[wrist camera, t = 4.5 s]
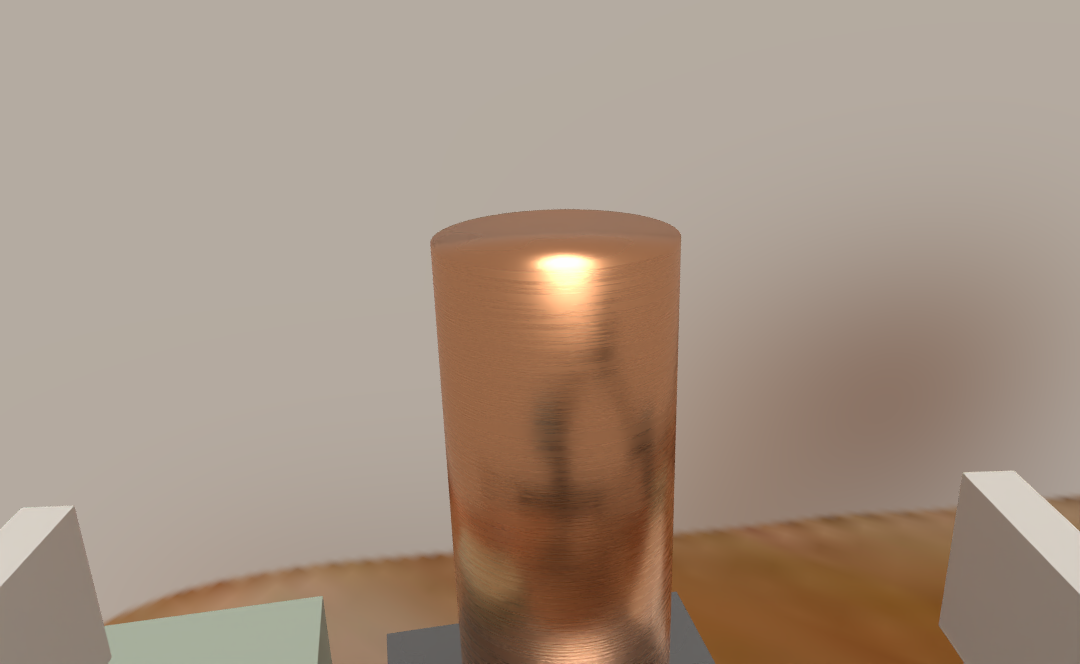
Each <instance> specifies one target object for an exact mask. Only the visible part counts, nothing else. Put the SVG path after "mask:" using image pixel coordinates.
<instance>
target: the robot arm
mask: <svg viewBox="0 0 1080 664" xmlns="http://www.w3.org/2000/svg"><path fill="white" fill-rule="evenodd" d="M939 626H940V628H941V629H942V631H943V632H944V634H945V635H946V637H947V638H948V639H949V641H950V642H951V644H952V645H953V647H954V648H955V650H956V651H957V653H958V654H959V656H960V657H961V658H962V660H963V661H964V663H965V664H1080V531H1079V530H1078V529H1076V528H1075V527H1074V526H1073V525H1072V524H1071V523H1070V522H1069V521H1068V520H1067V519H1066V518H1065V517H1064V516H1062V515H1061V514H1060V513H1059V512H1058V511H1057V510H1056V509H1055V508H1054V507H1053V506H1052V505H1051V504H1049V503H1048V502H1047V501H1046V500H1045V499H1044V498H1043V497H1042V496H1041V495H1040V494H1039V493H1037V491H1035V490H1034V489H1033V488H1032V487H1031V486H1030V485H1029V484H1028V483H1027V482H1026V481H1025V480H1024V479H1022V478H1021V477H1020V476H1019V475H1018V474H1017V473H1016V472H1015V471H992V472H966V473H963V474H962V480H961V487H960V493H959V499H958V506H957V512H956V519H955V525H954V531H953V538H952V544H951V551H950V557H949V563H948V570H947V576H946V583H945V589H944V596H943V602H942V608H941V615H940V621H939ZM111 658H112V656H111V652H110V648H109V644H108V640H107V636H106V632H105V628H104V624H103V620H102V616H101V612H100V608H99V604H98V600H97V596H96V592H95V588H94V583H93V579H92V575H91V572H90V568H89V564H88V559H87V556H86V551H85V548H84V543H83V539H82V535H81V531H80V527H79V523H78V519H77V515H76V511H75V507H74V506H54V507H53V506H52V507H26V508H21V509H20V510H19V511H18V512H17V513H16V514H15V515H14V516H13V517H12V518H11V519H10V520H9V521H8V522H7V523H6V524H5V525H4V526H3V527H2V528H1V529H0V664H108V663H109V661H110V659H111Z"/></svg>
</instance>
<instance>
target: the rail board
mask: <svg viewBox="0 0 1080 664" xmlns="http://www.w3.org/2000/svg"><path fill="white" fill-rule="evenodd" d="M104 628H105V632H106V636H107V640H108V644H109V648H110V652H111V656H112V658H111V659H110V661H109V663H108V664H332V660H331V653H330V646H329V638H328V631H327V624H326V617H325V610H324V603H323V596H319V597H312V598H305V599H297V600H290V601H283V602H276V603H268V604H261V605H254V606H247V607H239V608H232V609H225V610H218V611H210V612H203V613H196V614H188V615H181V616H174V617H167V618H159V619H152V620H145V621H138V622H130V623H123V624H116V625H109V626H104Z"/></svg>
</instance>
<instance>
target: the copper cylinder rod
mask: <svg viewBox="0 0 1080 664" xmlns="http://www.w3.org/2000/svg"><path fill="white" fill-rule="evenodd" d="M680 254H681V234H680V233H679V231H678V230H677V229H676V228H675V227H673V226H671V225H670V224H668V223H665V222H662V221H660V220H656V219H653V218H650V217H645V216H641V215H635V214H629V213H622V212H613V211H601V210H579V209H577V210H576V209H560V210H537V211H536V210H535V211H522V212H513V213H504V214H498V215H491V216H486V217H480V218H476V219H472V220H468V221H464V222H461V223H458V224H455V225H452V226H450V227H448V228H445V229H443V230H441V231H440V232H438V233H437V234H436V235H434V236H433V238H432V240H431V256H432V271H433V284H434V297H435V311H436V324H437V337H438V350H439V364H440V376H441V391H442V404H443V417H444V431H445V444H446V457H447V470H448V483H449V496H450V510H451V523H452V536H453V550H454V564H455V577H456V590H457V603H458V617H459V624H452V625H445V626H438V627H431V628H424V629H418V630H411V631H404V632H397V633H390V634H387V653H388V664H715V662H714V660H713V659H712V657H711V655H710V653H709V651H708V649H707V648H706V646H705V644H704V642H703V640H702V638H701V636H700V635H699V633H698V631H697V629H696V627H695V625H694V623H693V622H692V620H691V618H690V616H689V614H688V612H687V611H686V609H685V607H684V605H683V603H682V601H681V599H680V598H679V596H678V594H677V592H671V589H672V552H673V513H674V478H675V440H676V404H677V367H678V330H679V294H680Z"/></svg>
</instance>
